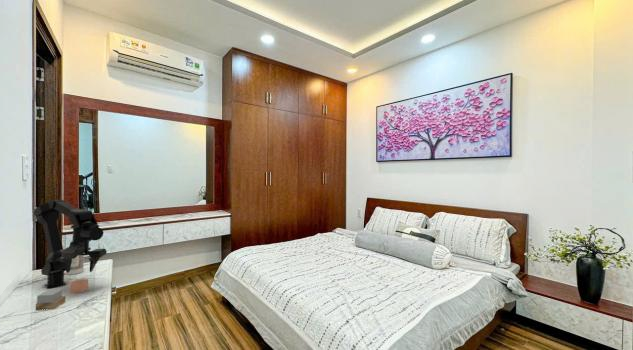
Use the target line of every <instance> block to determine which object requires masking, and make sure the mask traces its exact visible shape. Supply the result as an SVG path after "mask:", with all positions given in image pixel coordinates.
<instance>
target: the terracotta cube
mask: <svg viewBox="0 0 633 350" xmlns="http://www.w3.org/2000/svg"><path fill="white" fill-rule="evenodd" d="M87 289H89V278H78V279H76V280H73V281H71V282H70V283H69V293H70V294H75V293H76V294H77V293H83V292H84V291H86V290H87Z"/></svg>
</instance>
